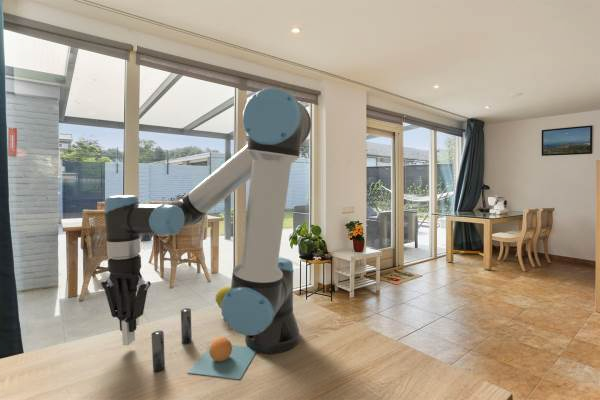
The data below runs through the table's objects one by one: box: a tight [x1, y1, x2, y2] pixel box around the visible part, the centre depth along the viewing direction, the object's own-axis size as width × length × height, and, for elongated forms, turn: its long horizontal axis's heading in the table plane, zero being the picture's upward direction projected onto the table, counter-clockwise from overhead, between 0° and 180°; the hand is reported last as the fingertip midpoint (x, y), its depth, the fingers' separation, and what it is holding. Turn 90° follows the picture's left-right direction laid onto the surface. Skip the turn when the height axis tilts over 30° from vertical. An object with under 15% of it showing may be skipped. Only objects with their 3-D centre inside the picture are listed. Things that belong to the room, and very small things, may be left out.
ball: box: [209, 337, 232, 362], centre depth 80 cm, size 6×6×6 cm
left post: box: [150, 330, 166, 374], centre depth 76 cm, size 3×3×9 cm
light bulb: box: [215, 286, 231, 320], centre depth 103 cm, size 7×7×10 cm
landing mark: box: [187, 344, 257, 381], centre depth 80 cm, size 13×13×1 cm
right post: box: [180, 307, 193, 345], centre depth 88 cm, size 3×3×9 cm
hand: (129, 342), depth 85 cm, fingers closed
